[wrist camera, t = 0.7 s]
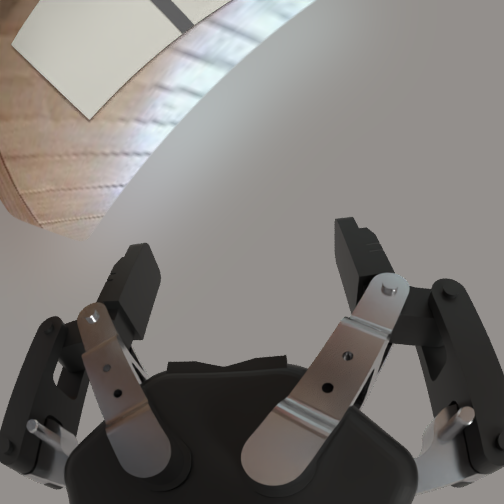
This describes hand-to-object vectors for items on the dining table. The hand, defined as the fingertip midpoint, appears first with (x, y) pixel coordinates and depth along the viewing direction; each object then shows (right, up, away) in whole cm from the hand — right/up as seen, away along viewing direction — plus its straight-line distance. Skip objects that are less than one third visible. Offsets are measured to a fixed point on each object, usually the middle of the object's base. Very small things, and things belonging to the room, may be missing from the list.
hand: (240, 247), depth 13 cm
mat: (-16, +28, +10) cm, 33 cm away
